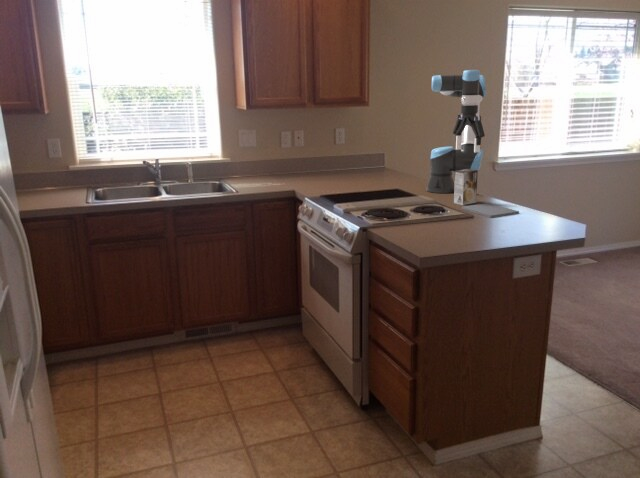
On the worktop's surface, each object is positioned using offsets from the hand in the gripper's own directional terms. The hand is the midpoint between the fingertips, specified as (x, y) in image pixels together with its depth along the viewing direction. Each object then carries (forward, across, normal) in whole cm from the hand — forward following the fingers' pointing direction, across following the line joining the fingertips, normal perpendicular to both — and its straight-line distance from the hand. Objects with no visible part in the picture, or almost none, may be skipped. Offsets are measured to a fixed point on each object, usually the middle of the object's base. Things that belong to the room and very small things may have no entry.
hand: (467, 150), depth 266 cm
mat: (+25, +19, -1) cm, 32 cm away
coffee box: (+26, 0, 0) cm, 26 cm away
